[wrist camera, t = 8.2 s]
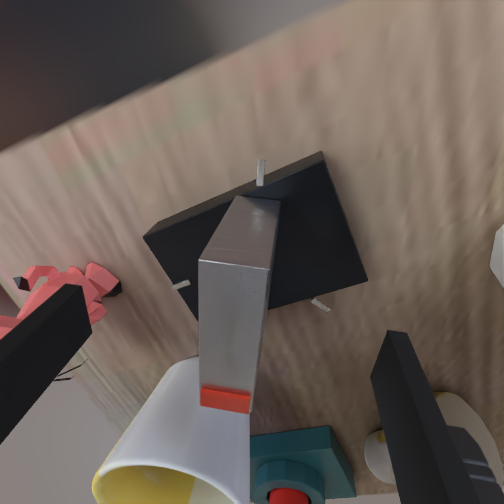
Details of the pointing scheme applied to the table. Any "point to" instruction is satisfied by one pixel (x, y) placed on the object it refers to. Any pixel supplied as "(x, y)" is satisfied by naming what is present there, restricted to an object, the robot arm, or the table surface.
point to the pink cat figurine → (92, 282)
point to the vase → (498, 256)
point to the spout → (235, 302)
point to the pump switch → (300, 465)
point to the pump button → (287, 496)
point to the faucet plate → (288, 237)
